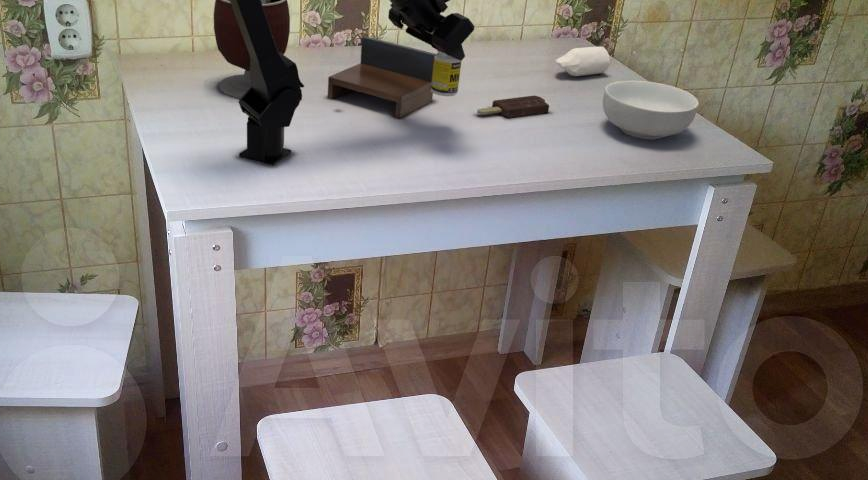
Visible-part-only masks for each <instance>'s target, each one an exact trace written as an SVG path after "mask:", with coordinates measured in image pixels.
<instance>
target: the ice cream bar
mask: <svg viewBox="0 0 868 480" xmlns="http://www.w3.org/2000/svg"><path fill="white" fill-rule="evenodd" d="M549 109H550V104H548V103H547V102H546V100H545V98H543V97H541V96H539V95H526V96H518V97H511V98H504V99H502V98H501V99H494V100H493V101H492V103H491V107H484V108H478V109H477V112H476V113H477V114H479V115H491V114H498V113H499V114H500V115H502V116H504V117H505V118H506V119H511V118H521V117H526V116H527V117H528V116H534V115H541V114H547V113H549Z"/></svg>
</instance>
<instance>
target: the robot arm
mask: <svg viewBox="0 0 868 480" xmlns="http://www.w3.org/2000/svg"><path fill="white" fill-rule="evenodd" d="M450 1H451V0H389V2H390V5H389V6H390V8H389V9H388V18H387V19H388V20H389V21H390V22H391V24H392V25H393V26H394V27H396V28H398V29H400V30H403V28H405V26H406V29H405V33H406V34H408V35H410V36H411V37H413V38H415V39H417V40H419V41H420V42H421V41H422V42H424V43H426V44H428V45H430V46H431V48H433V49H435V50H436V51H437V50H438V51H440V52H442V53H445V54H446V55H448V56H451V57H453V58H456V59H458V60H460V61H462V62H463V60H464V59H465V57H466V54H465V51H464V48H463V47H464V46H463V45H462V44H463V43H464V42H465V41H466V40H467V39H468V37H470V36H471V34H472V33H473V32H474V31H475V25H474V24H473V22H472V20H471V19H470V18H469V17H467V16H465V15H463V14H461V13H458V12H452V13H450V14H448V15H446V16H444V15H443V14H441V13H445V11H446V10H447V9H448V8H449V6H448V5H447V4H446V3H449V2H450ZM230 2H231V5H232V8H233V11H234V14H235V16H236V19H237V22H238V25H239V27H240V30H241V33H242V36H243V38H244V41H245V44H246V47H247V49H248V52H249V55H250V60H251V62H250V78H251V83H252V86H251V87H250V88H249V89H248V90H247V91H246V93H245V94H244V95H243V96H242V97H241V98H239V99H238V105H239V107H240V110H241V112H242V113H243V114H245V115H246V116H247V122H246V148H245V149H244V150H242V151H241V152H239V153H238V157H239V158H241V159H246V160H248V161H249V160H250V161H253V162H256V163H261V164H263V165H267V166H274V165H276V164H277V163H279V162H280V161H282V160H283V159H285V158H287V157H288V156H290V155H291V154H293V153H292V152H293V151H292V149H289V148H286V147H284V146H285V128H288V127H290V126H291V122H292V120H293V118H294V114H295V113H296V112H295V111H296V110H297V108H298V107H299V105H300V102H302V100H303V91H302V88H305V85H304V83H303V82H302V81H301V79H300V75H299V69H298V65H297V63H296V62H294V61H293V60H291V59H290V58H289V57H288V56H286V55H285V54H284V55H283V54H282V53H278V50H277V47H276V44H275V41H274V38H273V35H272V32H271V29H270V26H269V23H268V20H267V17H266V14H265V11H264V8H263V5H262V2H261V0H230ZM438 51H437V52H438Z"/></svg>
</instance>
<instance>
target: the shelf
mask: <svg viewBox="0 0 868 480" xmlns="http://www.w3.org/2000/svg"><path fill="white" fill-rule="evenodd" d="M436 54H437V53H435V52H430V51H427V50H423V49H418V48H414V47H410V46H406V45H402V44H399V43H395V42H391V41H386V40H382V39H378V38H374V37H370V36H366V35H364V36H361V46H360V63H357V64H355V65H353V66H350V67H348V68H346V69H343V70H341V71H338V72H336V73H333V74H332V75H330V76H328V80H327V99H332V100H333V99H335V98H337V97H339V96H341V95H343V94H346V93H348V92H351V91H355V92H358V93H362V94H367V95H370V96H373V97H377V98H379V99H384V100H387V101H392V102H395V115H394V117H395V118H397V119H401V118H403V117H405V116H407V115H409V114H411V113H412V112H414V111H416V110H419V109H420V108H422V107H424V106H426V105H428V104H430V103H432V102H433V98H434V97H433V96H434V93H432V92H431V83H432V75H433V66H434V57H435V55H436Z"/></svg>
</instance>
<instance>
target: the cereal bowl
mask: <svg viewBox="0 0 868 480" xmlns="http://www.w3.org/2000/svg"><path fill="white" fill-rule="evenodd" d="M602 109H603V112H604V115H605V116H606V118H607V119H608V120H609V121H610V122H611V123H612V124H613V125H614V126H616V127H618V128H619V129H620V130H621V131H622V132H623V133H624V134H626V135H627V136H629V137H632V138H637V139H640V140H641V139H642V140H649V141H650V140H652V141H653V140H659V139H663V138H665V137H670V136H674V135H677V134H680V133H682V132H683V131H685V130H686V129H687V128H688V127H690V125H691V124H692V123H693V122H694V120H695V117H696V115H697V113H698V109H699V100H698V98H697V97H696V96H695V95H693V94H691V93H690V92H688V91H686V90H685V89H682V88H679V87H677V86H673V85H669V84H665V83H660V82H654V81H646V80H631V79H629V80H619V81H613V82H611V83H608V84H607V85H606V86H605V88H604V92H603V97H602Z"/></svg>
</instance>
